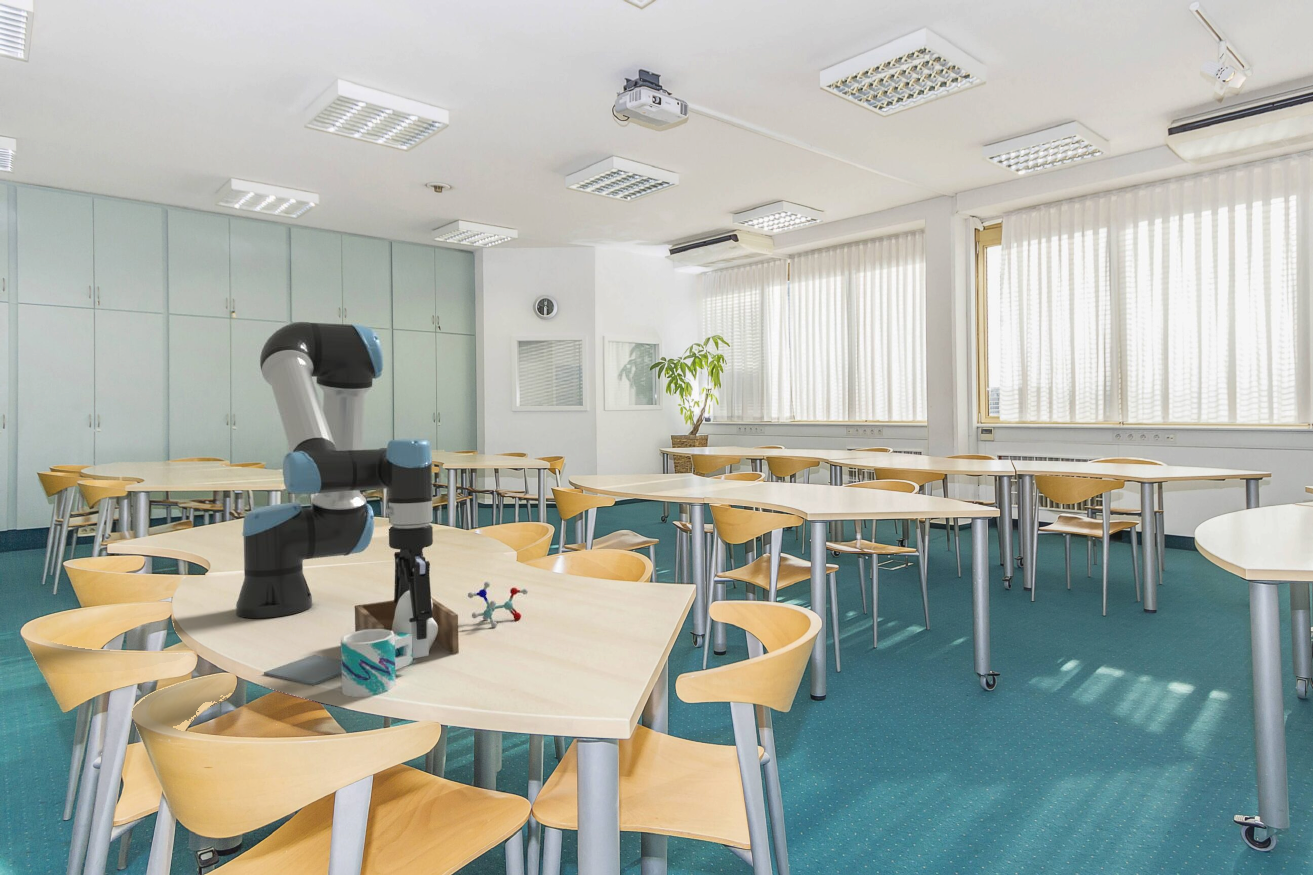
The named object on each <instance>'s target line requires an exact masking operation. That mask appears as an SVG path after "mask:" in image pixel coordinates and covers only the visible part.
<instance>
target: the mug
mask: <svg viewBox="0 0 1313 875" xmlns="http://www.w3.org/2000/svg"><path fill="white" fill-rule="evenodd" d="M395 649H396V654H395ZM340 654H341V655H340V660H341V671H342V675H341V691H342V695H344V696H349V697H353V698H360V697H372V696H377V695H380V694H383V693H387V692H389V691H391V690H392V689H393V688H395V687H396V686H397V682H396V681H397V680H396V674H397V673H396V670H399V669H401V668H405V667H406V666H409V665H412V664H413V663H414V662H413V661H414V660H413V653H412V634H409V633H403V632H400V633H397V634H394V632H393V631H390V630H385V629H366V630H361V631H356V632H355V631H352V632H349V633H347V634H346V635H342V636H341V637H340Z"/></svg>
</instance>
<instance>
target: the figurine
mask: <svg viewBox="0 0 1313 875" xmlns="http://www.w3.org/2000/svg"><path fill="white" fill-rule="evenodd" d="M431 604H432V607H433V603H432V599H431ZM411 618H413V612H412V605H411V597H410V590H409V591H407V592H405V593H404V594H403V595H402V596H401V597H400V599H399V601H398V604H397V607H396V610H395V616H394V621H393V625H392V631H393V632H394V634H397V633H400V632H403V633H409V634H412V629H411V622H410V621H409V619H411ZM437 633H438V625H437V623H436V622H435V621H434V619H433V618H429V619H428V643H429V651H430V649H431V648H432V645H433V643H434V641H436V640H435V638H436V636H437ZM395 654H396V649H395ZM418 658H420V657H418ZM418 658H417V659H418ZM413 659H415V658H413Z"/></svg>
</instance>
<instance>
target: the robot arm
mask: <svg viewBox="0 0 1313 875" xmlns="http://www.w3.org/2000/svg"><path fill="white" fill-rule="evenodd" d="M266 340H267V341H266V342H265V344H264V345H263V347H262V349H261V353H260V357H259V358H260V359H259V366H260V369H261V370H260V371H261V373H262V376H263V379H264V381H265V382H266V383H267V384H269V385H270V386H271V389H272V392H273V395H274V399H275V402H276V406H277V409H278V412H279V416H280V419H281V422H282V426H283V429H284V432H285V436H286V440H287V443H288V446H289V450H290V452H288V453H286V454H285V455H284V458H283V462H282V476H283V485H284V487H285V489H286V491H287V492H288V493H290V494H293V495H314V496H313V498H311V507H308V508H307V507H306V508H303V506H302V505H301V503H300V502H287V503H279V504H273V505H268V506H263V507H259V508H256V509H253V510H250V511H249V512H247V513H246V514H245V516H244V517H243V525H242V526H243V528H242V533H241V534H242V537H243V561H244V563H243V567H244V568H243V569H244V570H243V571H244V579H243V582H242V586H241V589H240V593H239V595H238V598H237V601H236V603H235V610H236V611H235V612H236V613H235V614H236V616H238V617H241V618H246V619H266V618H268V619H269V618H278V617H283V616H289V615H294V614H297V613H298V614H299V613H301V612H304V611H307V610H309V609H310V608H311V607H312V606H313V596H312V593H311V590H310V588H309V586H308V583H307V580H306V578H305V577H306V576H305V575H304V569H303V568H304V567H303V565H304V564H303V563H304V561H305V560H310V559H311V560H313V559H319V558H330V557H339V556H344V557H345V556H349V555H353V554H358V553H362V552H364V551H365V550H366V549H367V548H368V547H369V545H370V544H371V543H372V542H371V541H372V539H373V535H374V529H375V528H374V527H375V520H374V516H375V514H374V511H373V507H372V506H371V505H370V504H369V503H367V499H366V497H364V495H362V493H361V492H360V491H370V490H382V489H383V490H385V489H386V490H387V495H388V496H387V500H388V501H387V502H388V507H387V508H385V513H386V514H388V524H390V525H391V526H390V528H388V547H390V549H393V550H399V551H395V552H394V554H393V556H394V564H395V565H394V589H393V590H394V592H393V594H394V595H393V597H394V599H393V600H394V602H395V603H397V604H398V601H399V599H400V597H401V596H402V595H403V594H404V593H405V592H407V591H409V590H410V597H411V605H412V612H413V618H411V619H409V621H410V622H411V629H412V653H413V658H414V659H418V657H419V658H422V657H423V658H424V657H428V656H429V655H430V654H429V652H430V650H429V643H428V619H429V618H432V615H433V614H432V604H431V597H432V595H431V594H432V593H431V580H430V579H431V578H430V568H431V567H430V566H431V564H430V563H431V562H430V561H429V560H426V557H425V556H424V553H423V550H424V549H425V548H429V547H431V546H432V545H433V543H434V539H433V538H434V537H433V536H434V535H433V534H434V532H433V530H434V527H433V526H432V524H430V523H432V522H433V520H434V519H433V517H434V516H433V515H434V514H433V513H434V512H433V499H432V498H433V497H432V496H433V493H432V490H433V489H432V487H433V485H432V484H433V483H432V482H433V480H432V476H433V474H432V469H433V467H432V463H433V456H432V449H431V448H432V447H431V444H430V441H429V440H427V439H418V438H413V439H412V438H409V439H406V438H405V439H392V440H389V442H388V443H387V445H386V446H387V447H380V448H378V449H377V448H375V449H372V448H371V449H363V434H364V414H365V413H364V412H365V396H366V393H367V392H369V390H371V389H372V388H373V381H374V380H373V379H375V380H376V379H378V378H380V377H381V376H382V373H383V369H384V356H383V350H382V345H381V342H380V339H379V337H378V335H377V333H376V332H375V331H374V329H372V328H371V327H368V326H364V325H356V324H350V323H349V324H348V323H347V324H346V323H325V322H324V323H323V322H309V321H297V322H296V321H295V322H292V323H289V324H286V325H284V326H282V327H281V328H279V329H277V330H275V331H274V332H273V333H272V335H271V336H269V338H268V339H266ZM313 377H316V385H317V386H318V387H319V388H320V389H321V390H322V392H323V397H322V404H321V401H320V397H319V395H318V392H317V388H316V386H315V382H314V380H313Z"/></svg>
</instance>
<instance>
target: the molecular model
mask: <svg viewBox="0 0 1313 875" xmlns="http://www.w3.org/2000/svg"><path fill="white" fill-rule="evenodd" d="M489 587H491V583H490V582H489V581H485V582H484V585H483V588H481V589H480V590H479V591H478V592H473V591H470V592H468V594H467V597H468V598H469V599H472V598H473V597H476V596H477V597H478V596H479V598H483V600H484V601H485V604H486V608H485V609H484V611H483V612H476V611H475V612H472V613H471V618H472V619H477V618H479V617H482V620H484V621H488V620H489V621H490V626H491V627H492V628H493V629H494V628H497V627H498V623H497V621H495V620H494V618H493V612H495V610H497V609H505V610H506V611H509V613H510V614H511V615H512V616H513V619H514V620H515V621H519V620H520V619H521V618H522V614H521V613H520V612H518V611H517V610H516V609H515V607H513V606H514V604H513V602H512V601H513V598H514V596H516V595H517V594H523V595H527V594H528V592H529V590H528V589H527V588H523V589H518V588H517V587H514V586H513V587H511V588H510V592H509V593H510V596H509V599H508V600H507V601H505V602H504V604H501V605H497V602H496V600H491V601H489V599H488V597H487V594H488V593H487V589H488V588H489Z"/></svg>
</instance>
